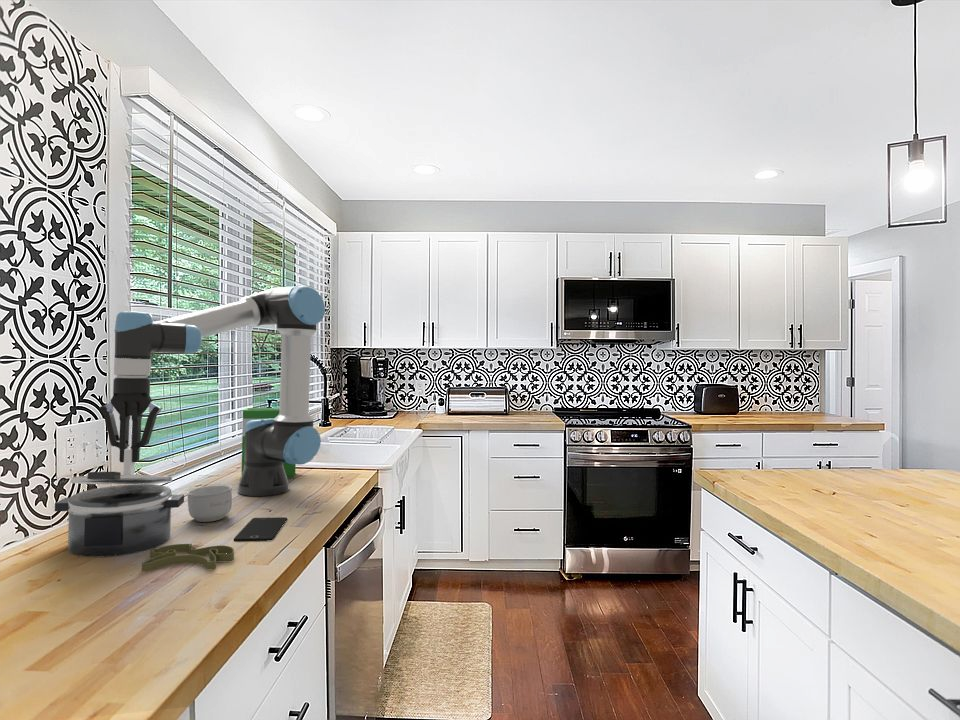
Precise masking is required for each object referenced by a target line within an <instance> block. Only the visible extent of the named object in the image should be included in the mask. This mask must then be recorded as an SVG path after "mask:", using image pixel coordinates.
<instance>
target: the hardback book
mask: <svg viewBox="0 0 960 720" xmlns="http://www.w3.org/2000/svg"><path fill="white" fill-rule="evenodd" d="M279 408H280V407H245V408H243V410H242V432H241V433H242V436H241V437H242V438H241V476H242V473H243V470H244V465H245V428H246V423H247V422H248V421H251V420H262V419H274V418H276V417H277V416H278V415H279ZM296 465H297V464H288V463H285V462H283V467H284V470H285V473H286V477H293V478H295V477H296V476H295V475H296ZM241 476H240V477H241ZM294 476H295V477H294Z"/></svg>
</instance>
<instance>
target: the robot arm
mask: <svg viewBox="0 0 960 720" xmlns="http://www.w3.org/2000/svg"><path fill="white" fill-rule="evenodd" d="M325 313H326V305H325V302H324V299H323V297H322V295H320V293H319V291H317V290H316V289H314V288H313V287H311V286H305V285H295V286H286V287H285V286H284V287H272V288H270V289H269V288H268V289H266V290H264V291H260V292H257V293H254V294H251V295H248V296H243V297H242V298H241V299H240V301H237V302H232V303H228V304H224V305H221V306H216V307H212V308H207V309H203V310H200V311H195V312H191V313H187V314H186V313H185V314H183V315H178V316H175V317H174V316H173V317H170V318H166V319H165V318H164V319H163V320H156V321H154V319H153V318H154V317H153V315H152V314H151V313H148V312H140V311H121V312H119V313H117V314H116V317H115V318H116V319H115V324H114V325H115V327H114V359H113V361H114V362H113V363H114V364H113V375H114V376H116V377H114V379H113V383H112V384H113V386H112V387H113V388H112V392H113V393H112V394H113V395H112V397H111V399H110V402H108V403H107V404H105V405H101V406H100V407H99V408H98V409H99V411H100V412H101V414H102V416H103V417H104V421H105V426H106V429H107V434H108V439H109V443H110V446H111V447H116V448H118V450H119V463H123V474H122V475H135V470H136V469H135V468H136V467H135V466H136V463H137V462H139V461H140V456H141V453H140V452H141V451H140V450H141V448H143V447H145V446H148V445H149V443H150V440H151V436H152V434H153V430H154V426H155V422H156V420H157V417H158V415H159V414H160V413H161V411H162V410H163V408H162V406H161V405H157V404H155V403H154V402H153V400H152V397H151V396H150V395H151V379H150V377H149V376H150V375H151V367H152V366H151V365H152V353H156V354H157V353H160V354H180V355H181V354H182V355H186V354H190V355H191V354H195V353H197V352H198V351H199V350H200V348H201V346H202V340H203V338H208V337H210V336H214V335H217V334H218V335H219V334H222V333H224V332H228V331H232V330H237V329H239V328H240V329H241V328H244V327H246V326H248V327H251V328H255V327H259V326H267V325H276V331H278V332H279V334H280V335H281V353H280V358H281V359H280V378H279V379H280V381H279V383H280V384H279V407H278V408H279V415H278V416H277V417H276V418H274V419H262V420H251V421H248V422H247V423H246V428H245V465H244V470H243V473H242V472H241V474H242V476H240V479H239V482H238V485H237V493H238V494H239V495H241V496H246V497H247V496H250V497H265V496H275V495H279V494H283V492H284V493H286V492H287V491H289V480H288V478H287V477H286V473H285V470H284V467H283V462H285V463H288V464H296V465H299V466H301V465H305V464H308V463H309V462H311V461H312V460H313V459H314V458H315V456H317V454H319V453H318V452H319V451H320V448H321V441H322V439H321V435H320V433H319V432H318V430H317V428H315V427H314V418H313V417H312V416H311V415H310V413H309V411H310V409H309V408H310V406H309V405H310V383H311V382H310V381H311V380H310V378H311V376H310V375H311V349H312V348H311V347H312V346H311V345H312V336H313V335H314V334H316V332H317V328H318V327H317V324H319V323H320V322H322V319H323V318H324V316H325ZM114 409H115V411H116V412H117V413H118V414H119V415H118V416H119V431H118V427H117V423H116V419H115V414H114ZM146 410H148V412H149V414H148V416H147V419H146V422H145V426H144V428H143V432H142V419H143V414H144V413H145V411H146ZM130 419H131V421H132V422H131V446H130V443H129V442H130V441H129V440H130V439H129V438H130Z"/></svg>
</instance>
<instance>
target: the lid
mask: <svg viewBox="0 0 960 720" xmlns="http://www.w3.org/2000/svg"><path fill="white" fill-rule="evenodd" d="M172 482H173V477H172V476H169V475H154V474H153V475H152V474H134V475H123V474H122V473H121V472H119V471H88V472H87V475H81V476H79V475H77V476H71V477H70V483H71V484H80V485H81V484H83V485H133V484H151V485H152V484H166V483H172Z"/></svg>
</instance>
